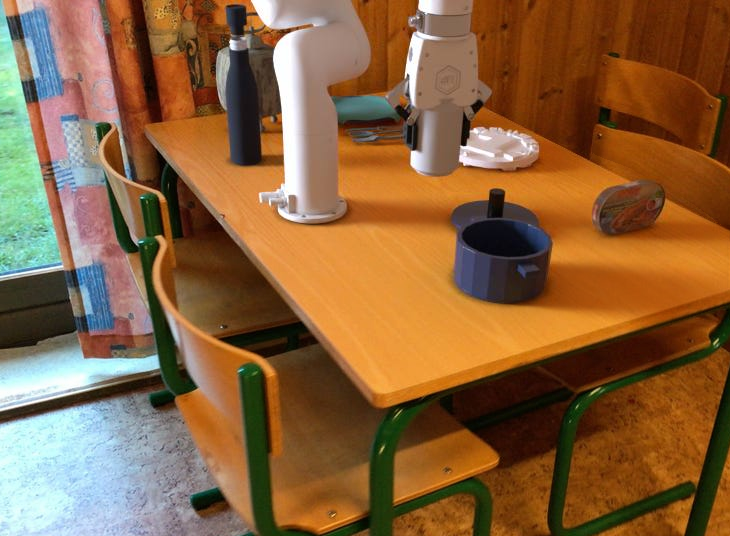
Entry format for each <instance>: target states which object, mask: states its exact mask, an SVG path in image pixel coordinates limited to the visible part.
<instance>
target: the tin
mask: <svg viewBox="0 0 730 536" xmlns="http://www.w3.org/2000/svg"><path fill="white" fill-rule="evenodd" d="M665 204H666V192H665V188H664V187H663V185H662V184H660V183H659V182H656V181H652V180H649V179H640V180H635V181H631V182H627V183H622V184H617V185H612V186H609V187H607V188H605V189H604V190H602V191H601V192H600V193H599V194H598V195H597V197H596V198H595V200H594V202H593V205H592V210H591V222H592V225H593V226H594V227H595V228H596V229H597V230H599V231H600V232H602V233H603V234H605V235H607V236H616V235H619V234H623V233H626V232H631V231H635V230H639V229H640V230H641V229H643V228H647V227H649V226H651V225H652V224H653V223H655V222H656V221H657V220H658V218H659V217H660V215H661V214H662V212H663V209H664V207H665Z"/></svg>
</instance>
